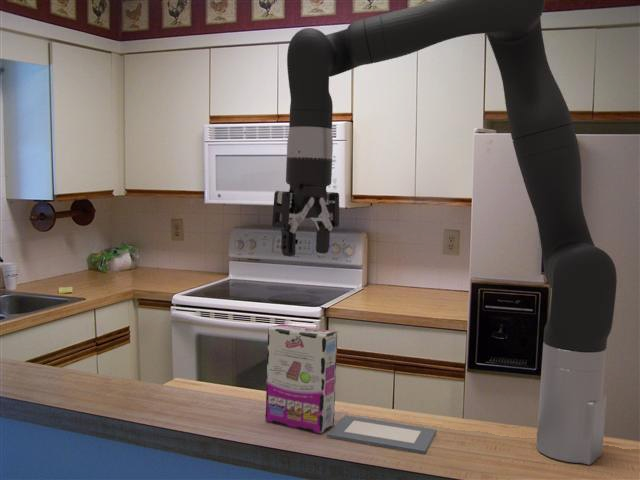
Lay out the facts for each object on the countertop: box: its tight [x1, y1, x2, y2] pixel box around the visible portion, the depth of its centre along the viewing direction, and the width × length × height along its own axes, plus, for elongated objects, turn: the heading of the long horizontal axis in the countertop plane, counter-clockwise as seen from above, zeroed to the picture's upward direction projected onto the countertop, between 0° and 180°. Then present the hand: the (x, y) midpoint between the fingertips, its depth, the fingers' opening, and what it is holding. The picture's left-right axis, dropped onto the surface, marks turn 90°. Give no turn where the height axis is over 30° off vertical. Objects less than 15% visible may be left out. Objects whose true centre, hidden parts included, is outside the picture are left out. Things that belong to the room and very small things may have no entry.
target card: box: [326, 414, 437, 455], centre depth 112 cm, size 16×10×1 cm, turn 70°
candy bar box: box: [265, 323, 338, 434], centre depth 115 cm, size 11×5×16 cm, turn 62°
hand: (305, 254), depth 113 cm, fingers open, 8 cm apart
